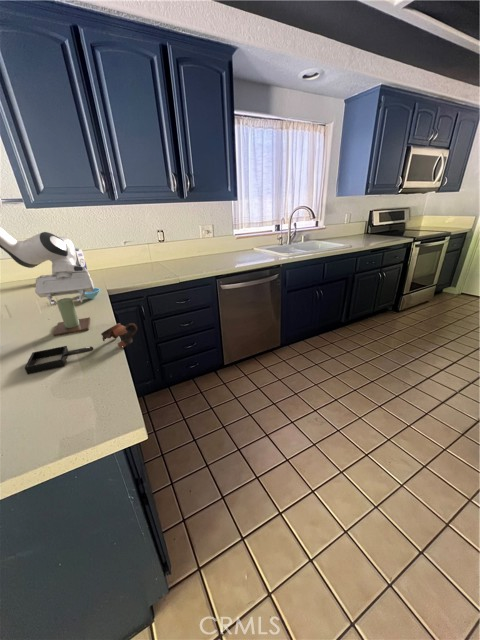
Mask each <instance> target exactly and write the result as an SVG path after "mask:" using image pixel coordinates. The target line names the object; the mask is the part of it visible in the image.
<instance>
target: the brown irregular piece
mask: <svg viewBox="0 0 480 640" xmlns="http://www.w3.org/2000/svg"><path fill="white" fill-rule="evenodd" d="M130 328H132V330H131V331H130ZM137 330H138V326H137V325H136V324H135V323H133V322H131V323H128V324H126V325H122V324H121V322H117V323H116V324H115V325H113V326H111V327H109V328H108V329H105V330H104V331H102V332H101V333H100V336H102V342H105V340H106V339H112V338H113V339H115V340H116V339H118V338H120V339H121V341H119V342H117V346H118V347H119V348H120V349H124V348H125V347H127V346H128V345H130V344H132V343H133V342H134V341H133V337H134V336H135V334H136V333H137ZM122 346H123V347H122Z"/></svg>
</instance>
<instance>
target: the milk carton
mask: <svg viewBox="0 0 480 640" xmlns="http://www.w3.org/2000/svg"><path fill="white" fill-rule="evenodd" d="M75 251H76V266H82V267H85V268H86V269H87V270H88V267H87V262H86V259H85V255H84V251H83V249H80V248H78V247H75Z"/></svg>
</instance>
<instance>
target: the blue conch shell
mask: <svg viewBox="0 0 480 640" xmlns="http://www.w3.org/2000/svg"><path fill="white" fill-rule="evenodd" d="M93 285H94V290H93V291H92V292H85V295H84V297H83V298H86V299H88V300H94V299H95V298H96V297H97V296H98V294H99V293H100V291H101V288H99V287H95V283H93ZM78 295H80V293H78Z"/></svg>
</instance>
